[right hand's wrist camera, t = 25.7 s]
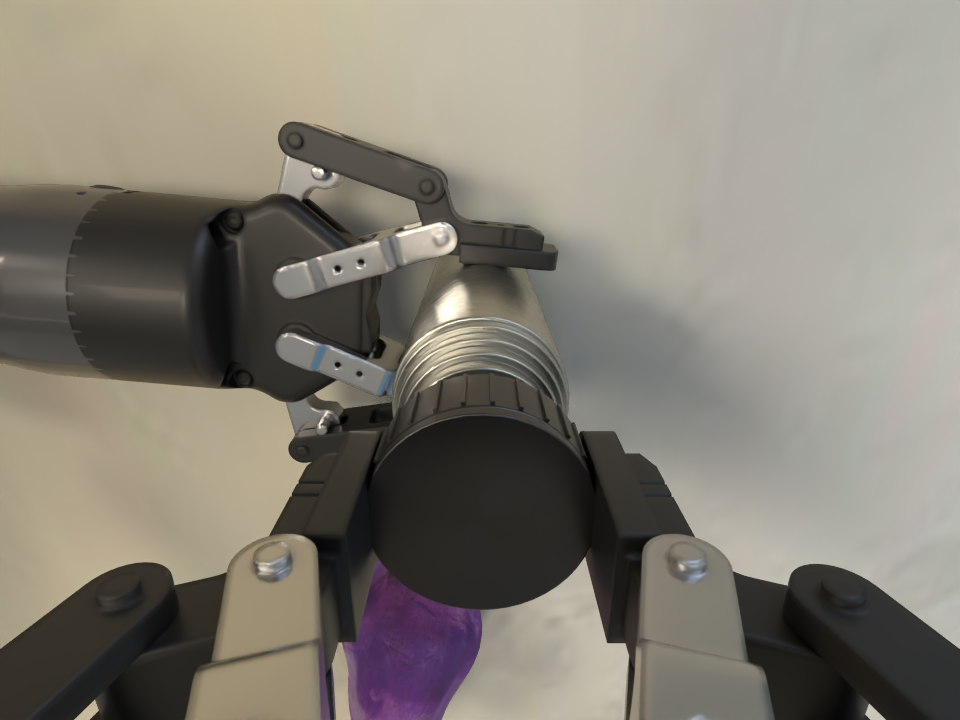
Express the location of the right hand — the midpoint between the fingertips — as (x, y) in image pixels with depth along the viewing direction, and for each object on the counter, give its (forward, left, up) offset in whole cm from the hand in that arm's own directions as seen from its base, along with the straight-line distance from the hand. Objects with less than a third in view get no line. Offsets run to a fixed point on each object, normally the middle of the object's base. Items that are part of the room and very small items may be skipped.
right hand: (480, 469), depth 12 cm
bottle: (0, 0, -17) cm, 17 cm away
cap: (0, 0, +2) cm, 2 cm away
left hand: (+2, +1, -11) cm, 12 cm away
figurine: (+6, -20, -17) cm, 27 cm away
